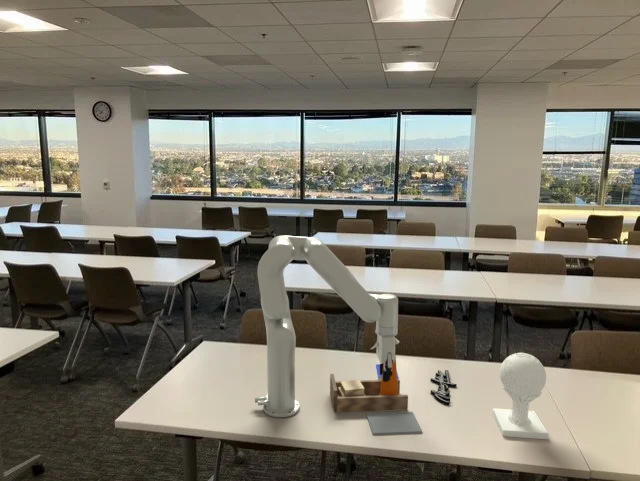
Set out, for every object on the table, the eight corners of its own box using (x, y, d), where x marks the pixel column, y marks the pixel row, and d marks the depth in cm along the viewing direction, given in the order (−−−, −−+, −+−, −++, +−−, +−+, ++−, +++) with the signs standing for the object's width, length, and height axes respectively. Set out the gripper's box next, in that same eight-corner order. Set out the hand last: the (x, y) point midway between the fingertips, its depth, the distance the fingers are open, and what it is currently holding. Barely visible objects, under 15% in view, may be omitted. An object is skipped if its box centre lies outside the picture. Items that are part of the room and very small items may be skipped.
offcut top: (345, 397, 165) (345, 390, 164) (340, 387, 171) (340, 381, 171) (364, 394, 166) (364, 388, 166) (358, 386, 173) (359, 379, 172)
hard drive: (398, 377, 187) (395, 364, 200) (378, 377, 188) (375, 364, 200) (398, 381, 188) (395, 368, 200) (378, 380, 188) (375, 367, 200)
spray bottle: (373, 393, 176) (374, 325, 173) (401, 399, 172) (403, 330, 168) (366, 401, 170) (367, 331, 166) (395, 408, 165) (397, 336, 162)
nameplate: (460, 403, 167) (431, 400, 169) (460, 407, 167) (431, 404, 169) (453, 370, 194) (428, 368, 196) (453, 374, 194) (428, 372, 196)
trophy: (501, 436, 149) (508, 362, 145) (491, 413, 163) (496, 345, 159) (548, 440, 148) (556, 365, 143) (533, 416, 161) (540, 347, 157)
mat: (372, 434, 149) (372, 433, 149) (366, 414, 161) (366, 413, 161) (422, 432, 151) (422, 431, 151) (412, 413, 162) (412, 411, 162)
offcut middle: (342, 403, 165) (342, 396, 165) (337, 393, 172) (337, 387, 172) (364, 401, 167) (364, 394, 167) (358, 391, 174) (358, 385, 174)
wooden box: (333, 412, 163) (333, 390, 162) (330, 393, 176) (330, 373, 174) (407, 409, 165) (408, 388, 164) (398, 391, 178) (399, 371, 176)
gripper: (371, 321, 174) (371, 367, 177) (381, 338, 158) (380, 389, 161) (391, 320, 175) (390, 367, 178) (403, 337, 158) (401, 388, 161)
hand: (385, 377), depth 169 cm, fingers closed on spray bottle, 4 cm apart
